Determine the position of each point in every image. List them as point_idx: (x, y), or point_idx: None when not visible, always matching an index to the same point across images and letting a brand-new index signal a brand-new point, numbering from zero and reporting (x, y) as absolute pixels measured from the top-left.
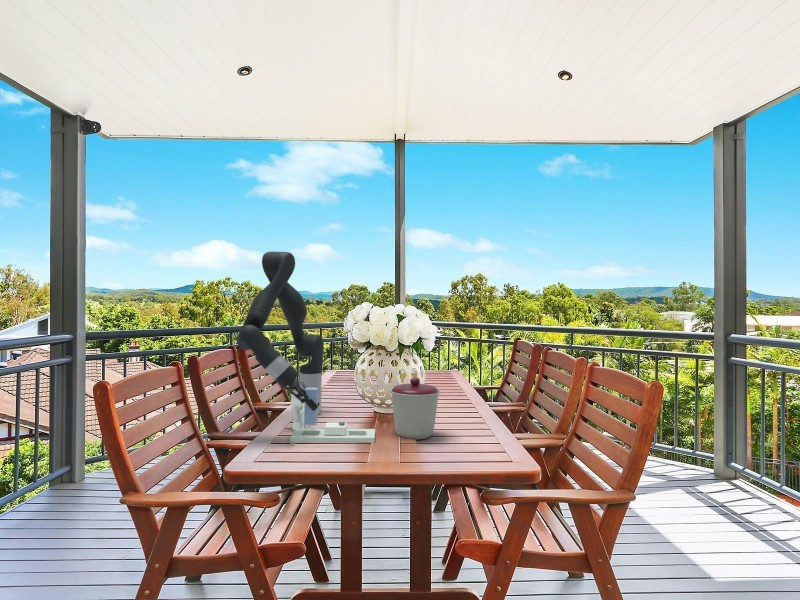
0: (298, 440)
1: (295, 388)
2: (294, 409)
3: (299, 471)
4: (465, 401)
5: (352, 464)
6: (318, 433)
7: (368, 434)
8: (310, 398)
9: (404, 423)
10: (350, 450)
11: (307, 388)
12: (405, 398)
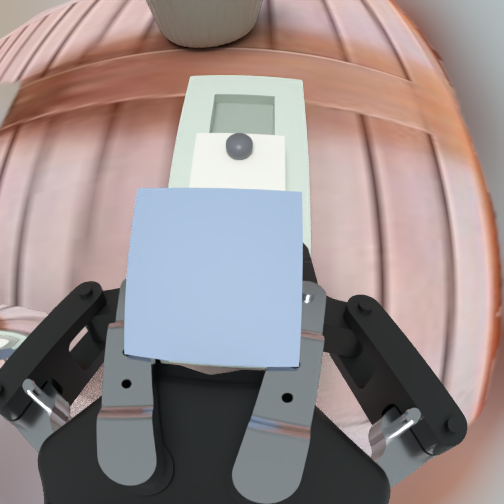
0: None
1: (458, 436)
2: None
3: (492, 279)
4: (14, 35)
5: (448, 164)
6: None
7: (261, 89)
8: (303, 283)
9: (253, 9)
10: (354, 154)
11: (208, 337)
12: None
